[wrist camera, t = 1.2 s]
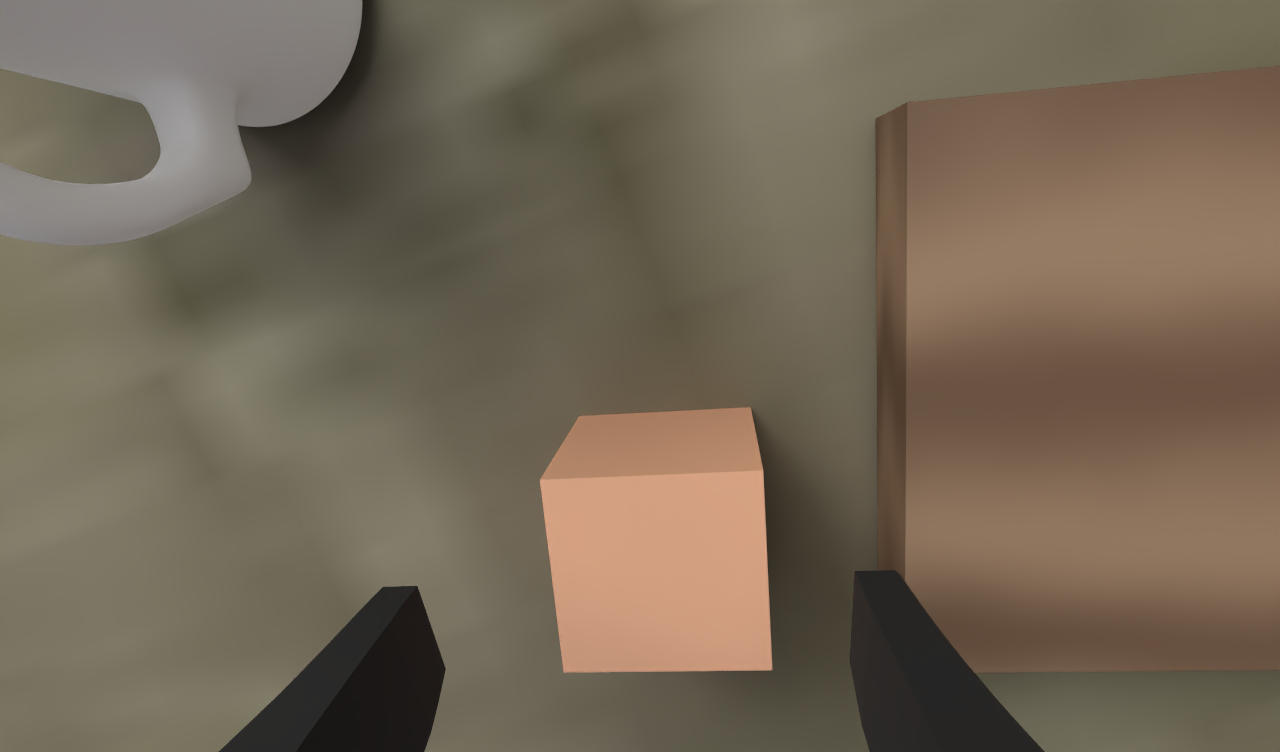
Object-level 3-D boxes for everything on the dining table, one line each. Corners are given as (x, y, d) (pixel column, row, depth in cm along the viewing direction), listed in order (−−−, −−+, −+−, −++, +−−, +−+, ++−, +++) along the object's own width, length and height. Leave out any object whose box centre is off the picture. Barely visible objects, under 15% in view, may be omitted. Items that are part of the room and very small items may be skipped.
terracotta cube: (758, 564, 21) (772, 670, 17) (596, 569, 22) (563, 672, 17) (750, 406, 20) (763, 470, 15) (579, 415, 21) (540, 480, 16)
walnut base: (1396, 599, 20) (1515, 667, 17) (878, 608, 21) (904, 673, 18) (1495, 59, 16) (1664, 28, 13) (875, 118, 18) (907, 102, 15)
